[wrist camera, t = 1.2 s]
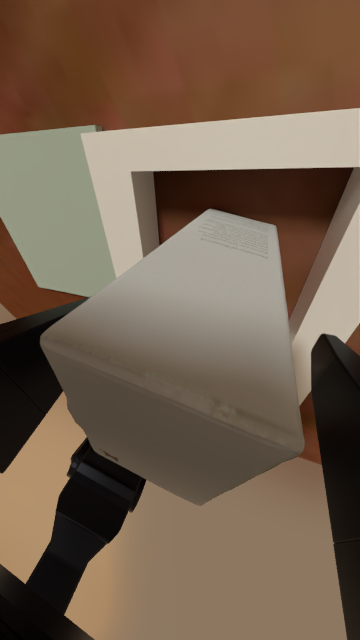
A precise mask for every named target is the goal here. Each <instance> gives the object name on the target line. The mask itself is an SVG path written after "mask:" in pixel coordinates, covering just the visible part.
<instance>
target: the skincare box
mask: <svg viewBox="0 0 360 640" xmlns="http://www.w3.org/2000/svg"><path fill="white" fill-rule="evenodd" d="M40 345H41V348H42V350H43V352H44V354H45V356H46V358H47V359H48V361H49V363H50V365H51V367H52V369H53V371H54V373H55V375H56V377H57V379H58V381H59V383H60V385H61V387H62V389H63V391H64V393H65V395H66V397H67V406H68V410H69V412H70V413H71V415H72V417H73V419H74V420H75V422H76V423H77V424H78V425H79V426H80V427H81V428H82V429H83V430H84V432H85V434H86V435H87V437H88V440H89V442H90V444H91V446H92V448H93V450H94V451H95V452H96V453H98V454H100V455H101V456H103V457H105V458H107V459H109V460H111V461H113V462H115V463H117V464H118V465H120V466H122V467H124V468H126V469H128V470H130V471H132V472H133V473H135V474H137V475H139V476H141V477H143V478H144V479H146V480H148V481H150V482H152V483H154V484H156V485H158V486H159V487H161V488H163V489H165V490H167V491H169V492H171V493H173V494H175V495H177V496H179V497H181V498H183V499H185V500H188V501H190V502H192V503H194V504H196V505H200V506H201V505H203V504H205V503H206V502H208V501H209V500H211V499H213V498H215V497H217V496H218V495H220V494H222V493H224V492H226V491H228V490H231V489H233V488H235V487H237V486H239V485H241V484H243V483H244V482H246V481H248V480H250V479H252V478H254V477H255V476H257V475H260V474H262V473H264V472H266V471H268V470H270V469H272V468H274V467H276V466H277V465H279V464H281V463H282V462H285V461H288V460H291V459H293V458H296V457H298V456H299V455H300V454H301V453H302V451H303V450H304V444H305V441H304V436H303V431H302V423H301V415H300V408H299V401H298V393H297V384H296V376H295V368H294V360H293V353H292V345H291V337H290V330H289V322H288V313H287V305H286V298H285V289H284V281H283V274H282V266H281V257H280V250H279V243H278V235H277V227H276V226H275V225H272V224H268V223H264V222H259V221H256V220H252V219H248V218H245V217H241V216H237V215H234V214H230V213H226V212H222V211H219V210H215V209H208V210H207V211H205V212H204V213H203V214H201V215H200V216H198V217H197V218H196V219H195V220H193V221H192V222H191V223H189V224H188V225H187V226H185V227H184V228H183V229H181V230H180V231H179V232H177V233H176V234H175V235H173V236H172V237H171V238H169V239H168V240H167V241H165V242H164V243H163V244H162V245H160V246H159V247H158V248H156V249H155V250H154V251H152V252H151V253H150V254H148V255H147V256H146V257H144V258H143V259H142V260H140V261H139V262H138V263H136V264H135V265H134V266H132V267H131V268H130V269H128V270H127V271H126V272H124V273H123V274H122V275H120V276H119V277H117V278H116V279H115V280H113V281H112V282H110V283H109V284H108V285H107V286H105V287H104V288H103V289H101V290H100V291H99V292H97V293H96V294H94V295H93V296H92V297H90V298H89V299H88V300H87V301H85V302H84V303H82V304H81V305H80V306H78V307H77V308H75V309H74V310H73V311H71V312H70V313H69V314H67V315H66V316H64V317H63V318H62V319H60V320H59V321H57V322H56V323H55V324H53V325H52V326H51V327H49V328H48V329H47V330H46V331H45V332H44V333H43V334H42V335H41V336H40Z"/></svg>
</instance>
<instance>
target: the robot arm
mask: <svg viewBox="0 0 360 640" xmlns="http://www.w3.org/2000/svg"><path fill="white" fill-rule="evenodd" d="M89 298H90V297H88V298H85V299H82V300H79V301H75V302H72V303H69V304H66V305H62V306H59V307H56V308H52V309H49V310H46V311H43V312H39V313H36V314H33V315H30V316H28V317H23V318H20V319H16V320H13V321H10V322H7V323H3V324H0V473H3V472H4V471H5V470H6V469H7V468H8V467H9V465H10V464H11V462H12V461H13V460H14V458H15V457H16V456H17V454H18V452H19V451H20V450H21V448H22V447H23V445H24V444H25V443H26V442H27V440H28V439H29V437H30V436H31V435H32V433H33V432H34V431H35V429H36V428H37V427H38V425H39V424H40V422H41V421H42V420H43V418H44V417H45V415H46V414H47V413H48V411H49V410H50V408H51V407H52V406H53V404H54V403H55V401H56V400H57V399H58V397H59V396H60V395H61V393H62V392H63V389H62V387H61V385H60V383H59V381H58V379H57V377H56V375H55V373H54V371H53V369H52V367H51V365H50V363H49V361H48V359H47V358H46V356H45V354H44V352H43V350H42V348H41V345H40V336H41V335H42V334H43V333H44V332H45V331H46V330H47V329H48V328H49V327H51V326H52V325H53V324H55V323H56V322H57V321H59V320H60V319H62V318H63V317H64V316H66V315H67V314H69V313H70V312H71V311H73V310H74V309H75V308H77V307H78V306H80V305H81V304H82V303H84V302H85V301H87V300H88V299H89ZM311 392H312V400H313V407H314V414H315V420H316V427H317V434H318V441H319V448H320V455H321V461H322V468H323V475H324V482H325V488H326V495H327V503H328V509H329V516H330V523H331V530H332V537H333V542H334V551H335V559H336V565H337V572H338V579H339V586H340V593H341V600H342V607H343V614H344V620H345V627H346V634H347V640H360V356H359V355H358V354H357V353H355V352H354V351H353V350H352V349H351V348H350V347H348V346H347V345H346V344H345V343H344V342H343V341H341V340H340V339H339V338H338V337H337V336H335V335H330V334H325V333H323V334H321V335H320V336H319V338H318V339H317V341H316V343H315V345H314V346H313V348H312V351H311ZM67 476H68V477H70V479H69V480H68V482H67V484H66V485H65V487H64V488H63V490H62V492H61V493H60V495H59V499H58V504H57V509H56V515H55V521H54V526H53V532H52V537H51V541H50V543H49V545H48V546H47V548H46V550H45V552H44V553H43V555H42V557H41V559H40V560H39V562H38V564H37V565H36V567H35V569H34V570H33V572H32V574H31V576H30V577H29V579H28V581H27V582H26V584H24V583H23V582H22V581H21V580H19V579H18V578H17V577H16V576H15V575H13V574H12V573H11V572H9V571H8V570H7V569H6V568H5V567H3V566H2V565H1V564H0V640H94V639H93V638H92V637H90V636H89V635H88V634H87V633H86V632H84V631H83V630H82V629H80V628H79V627H78V626H77V625H75V624H74V623H73V622H72V621H71V620H69V619H68V618H67V617H66V616H64V614H65V612H66V610H67V607H68V605H69V603H70V601H71V598H72V596H73V594H74V592H75V590H76V588H77V585H78V583H79V581H80V579H81V577H82V574H83V572H84V570H85V568H86V566H87V564H88V562H89V561H90V560H91V559H92V558H93V557H94V556H95V555H96V554H97V553H98V552H99V551H100V550H101V549H102V548H103V547H104V546H105V545H106V544H107V543H110V542H111V541H112V540H113V538H114V537H115V536H116V535H117V534H118V533H119V531H120V529H121V527H122V525H123V522H124V520H125V518H126V515H127V513H128V511H129V512H133V510H134V509H135V507H136V505H137V503H138V501H139V498H140V496H141V494H142V491H143V488H144V485H145V482H146V479H144V478H143V477H141V476H139V475H137V474H135V473H133V472H132V471H130V470H128V469H126V468H124V467H122V466H120V465H118V464H117V463H115V462H113V461H111V460H109V459H107V458H105V457H103V456H101V455H100V454H98V453H96V452H95V451H94V450H93V448H92V446H91V444H90V442H89V440H88V437H87V438H86V439H85V440H84V441H83V443H82V444H81V445H80V446H79V448H78V449H77V450H76V451H75V452H74V454H73V455H72V457H71V465H70V469H69V471H68V473H67Z"/></svg>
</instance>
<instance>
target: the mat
mask: <svg viewBox="0 0 360 640" xmlns="http://www.w3.org/2000/svg"><path fill="white" fill-rule="evenodd" d="M101 131H102V126H97V125H91V126H81V127H71V128H61V129H52V130H42V131H32V132H23V133H13V134H3V135H0V217H1V218H2V220H3V222H4V224H5V226H6V228H7V230H8V231H9V233H10V235H11V237H12V239H13V241H14V242H15V244H16V246H17V248H18V250H19V252H20V254H21V255H22V257H23V259H24V261H25V263H26V265H27V267H28V268H29V270H30V272H31V274H32V276H33V278H34V279H35V281H36V283H37V285H38V287H42V288H47V289H52V290H57V291H61V292H66V293H71V294H76V295H81V296H86V297H92V296H93V295H94V294H96V293H97V292H99V291H100V290H101V289H103V288H104V287H105V286H107V285H108V284H109V283H110V282H112V281H113V280H115V279H116V275H115V271H114V267H113V263H112V259H111V255H110V251H109V247H108V243H107V239H106V235H105V231H104V227H103V223H102V219H101V215H100V211H99V207H98V203H97V198H96V194H95V190H94V186H93V182H92V178H91V174H90V170H89V166H88V162H87V158H86V154H85V150H84V146H83V142H82V138H81V134H80V133H90V132H101Z"/></svg>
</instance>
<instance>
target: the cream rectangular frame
mask: <svg viewBox="0 0 360 640" xmlns="http://www.w3.org/2000/svg"><path fill="white" fill-rule="evenodd" d="M80 134H81V138H82V142H83V146H84V150H85V154H86V158H87V162H88V166H89V170H90V174H91V178H92V182H93V186H94V190H95V194H96V198H97V203H98V207H99V211H100V215H101V219H102V223H103V227H104V231H105V235H106V239H107V243H108V247H109V251H110V255H111V259H112V263H113V267H114V271H115V275H116V278H117V277H119V276H120V275H122V274H123V273H124V272H126V271H127V270H128V269H130V268H131V267H132V266H134V265H135V264H136V263H138V262H139V261H140V260H142V259H143V258H144V257H146V256H147V255H148V254H150V253H151V252H152V251H154V250H155V249H156V248H158V247H159V246H160V244H159V233H158V222H157V210H156V199H155V187H154V176H153V171H180V170H231V169H282V168H332V167H354V169H353V171H352V173H351V176H350V178H349V180H348V183H347V185H346V188H345V190H344V192H343V195H342V197H341V199H340V202H339V204H338V206H337V209H336V211H335V214H334V216H333V218H332V221H331V223H330V225H329V228H328V230H327V232H326V235H325V237H324V240H323V242H322V244H321V247H320V249H319V251H318V254H317V256H316V258H315V261H314V263H313V266H312V268H311V270H310V273H309V275H308V277H307V280H306V282H305V285H304V287H303V289H302V292H301V294H300V296H299V299H298V301H297V303H296V306H295V308H294V311H293V313H292V315H291V318H290V320H289V330H290V337H291V345H292V353H293V360H294V368H295V376H296V384H297V393H298V401H299V406H300V405H301V403H302V402H303V401H304V399H305V398H306V397H307V395H308V394H309V392H310V391H311V351H312V348H313V346H314V345H315V343H316V341H317V339H318V338H319V336H320V335H321V334H323V333H325V334H330V335H335V336H337V337H338V338H339V339H340V340H341V341H343V342H344V343H345V342H346V341H347V340H348V338H349V337H350V335H351V334H352V333H353V331H354V330H355V329H356V327H357V326H358V324H359V323H360V108H355V109H344V110H333V111H322V112H311V113H300V114H289V115H278V116H267V117H256V118H245V119H234V120H223V121H212V122H201V123H190V124H179V125H168V126H157V127H146V128H135V129H124V130H113V131H101V132H90V133H80Z"/></svg>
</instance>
